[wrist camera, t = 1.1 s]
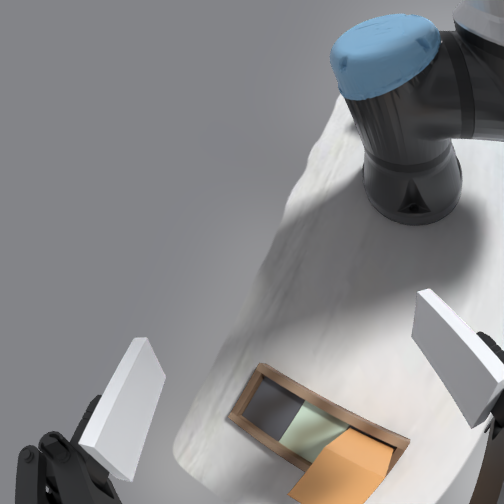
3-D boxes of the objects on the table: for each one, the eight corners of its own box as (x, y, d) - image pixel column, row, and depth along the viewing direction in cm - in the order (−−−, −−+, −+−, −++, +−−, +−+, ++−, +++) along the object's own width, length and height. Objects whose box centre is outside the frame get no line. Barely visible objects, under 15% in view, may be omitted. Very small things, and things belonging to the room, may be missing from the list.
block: (393, 448, 21) (385, 477, 14) (363, 487, 20) (341, 525, 13) (350, 427, 25) (324, 446, 18) (322, 466, 24) (287, 494, 17)
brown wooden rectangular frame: (410, 439, 21) (409, 442, 20) (366, 497, 20) (363, 503, 19) (266, 363, 35) (259, 362, 34) (235, 416, 34) (227, 417, 32)
